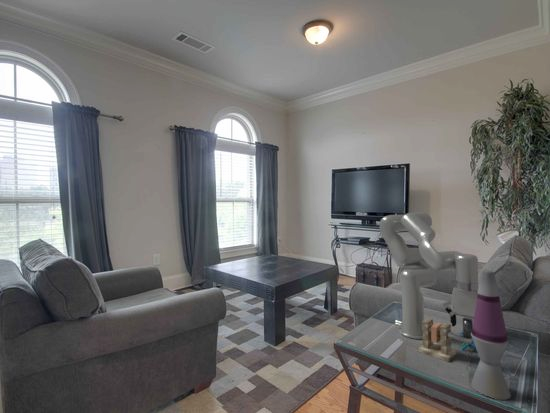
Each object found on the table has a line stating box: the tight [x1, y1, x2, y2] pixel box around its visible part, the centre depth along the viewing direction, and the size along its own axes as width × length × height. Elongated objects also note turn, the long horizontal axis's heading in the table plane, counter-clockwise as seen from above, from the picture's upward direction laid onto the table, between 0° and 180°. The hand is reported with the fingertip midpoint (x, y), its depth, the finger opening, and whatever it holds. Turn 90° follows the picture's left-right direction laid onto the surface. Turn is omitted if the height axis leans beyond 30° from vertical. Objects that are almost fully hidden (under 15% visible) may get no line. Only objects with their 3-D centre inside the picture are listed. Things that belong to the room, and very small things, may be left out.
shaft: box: [422, 317, 474, 344], centre depth 120 cm, size 19×3×9 cm, turn 42°
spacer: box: [431, 321, 443, 344], centre depth 123 cm, size 2×6×6 cm, turn 132°
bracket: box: [417, 317, 458, 363], centre depth 123 cm, size 12×10×12 cm
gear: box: [460, 331, 477, 351], centre depth 124 cm, size 11×6×10 cm
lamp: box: [470, 269, 512, 401], centre depth 98 cm, size 11×11×40 cm
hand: (467, 329), depth 114 cm, fingers open, 9 cm apart
